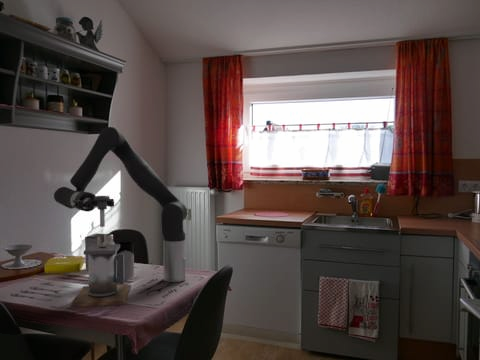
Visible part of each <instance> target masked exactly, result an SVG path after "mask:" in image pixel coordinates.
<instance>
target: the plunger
mask: <svg viewBox="0 0 480 360" xmlns="http://www.w3.org/2000/svg"><path fill="white" fill-rule="evenodd" d="M109 199H110V195H95V200H98V207H97V210H99V227H100V228H104V227H105V221H106V220H105V218H106V217H105V214H106V213H105V210H107V207H108V206H107V200H109Z"/></svg>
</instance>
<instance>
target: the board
mask: <svg viewBox="0 0 480 360" xmlns="http://www.w3.org/2000/svg"><path fill="white" fill-rule="evenodd" d="M117 288H118V293H117V294H115V295H113V296H110V297H105V298H93V297H90V296H88V290H89V285H85V286H83V287H82V288H81V289H80V290H79V292H78V293H77V294H76V296H75V297H74V299H73V300H72V301H71V308H74V307H75V308H76V307H98V306H99V307H100V306H120V305H121V306H122V305H125V304H126V303H127V299H128V297H129V294H130V291H131V288H132V285H131V284H117Z"/></svg>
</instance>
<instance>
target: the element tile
mask: <svg viewBox="0 0 480 360" xmlns="http://www.w3.org/2000/svg"><path fill="white" fill-rule="evenodd" d="M83 267H84V257H83V256H81V255H78V256H77V255H75V256H73V255H72V256H55V257H51V258H49V259H48V260H47V261H46V262H45V264H44V274H46V275H49V274H50V275H51V274H54V275H55V274H70V273H72V274H73V273H79V272H81V270H82V269H83Z"/></svg>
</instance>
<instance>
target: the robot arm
mask: <svg viewBox="0 0 480 360" xmlns="http://www.w3.org/2000/svg"><path fill="white" fill-rule="evenodd" d="M109 152H112V153H113V154H114V155H115V156H116V157H117V158H118V159H119V160H120V161H121V162H122V164H123V165H124V167H125V170H126V171H127V173H128V175H129V177H130V178H131V179H132V180H133V181H134V183H135V184H136V186H137V187H139V188H140V190H142V191H143V192H144V193H146V194H147V195H148V196H150V197H152V198H153V199H154V200H156V202H157V203H158V204H159V205H160V207H162V210H161V217H160V218H161V233H162V236H163V238H162V239H163V281H164V282H166V283H180V282H185V281H186V232H184V220H186V219H187V216H188V209H187V207H186V205H185V204H184V203H183V202H182V201H181V200H180V199H179V198H178V197H177V196H176V195H175V194H174V193H172V191H171V190H170V189H169V187H168V186H167V185H166V184H165V183H164V181H163V180H162V179H161V178H160V176H158V175H157V173H156V172H155V170H154V169H153V168H152V166H151V165H149V164H148V163H147V162H146V160H145V159H144V158H143V157H142V156H141V155H140V154H138V153H137V152H136V151H135V149H133V147H132V146H131V144H130V143H129V141H128V140H127V138H126V136H125V135H124V134H123V132H122V131H120V130H119V129H117V128H115V127H112V126H107V127H105V128H103V129H102V130H101V131H100V133H99V134H98V136H97V139H96V140H95V142H94V144H93V146H92V148H91V149H90V150H89V153H88V154H87V156H86V158H85V160H83V162H82V163H81V164H80V166H79V167H78V169H77V170H76V172H74V174H73V175H72V177H71V178H70V180H69V182H70V184H71V185H72V186H73V187H74V188H75V190H73V189H71V188H69V187H66V186H61V187H59V188H57V189H56V190H55V191H54V193H53V199H54V201H56V203H58V204H60V205H62V206H64V207H65V208H68V209H71V210H72V209H76V210H77V211H82V212H92V211H93V210H95V208H97V209H98V200H95V196H96V195H95V194H94V193H92V192H89V191H88V192H87V191H86V188H87V187H88V185H89V184H90V182H91V181H92V180H93V179H94V178H95V176H96V174H97V172H98V171H99V167H100V165H101V164H102V162H103V159H104V158H105V156H106V155H107V154H108V153H109ZM107 207H110V208H111V207H112V208H114V207H115V199H113V198H109V200H107Z"/></svg>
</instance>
